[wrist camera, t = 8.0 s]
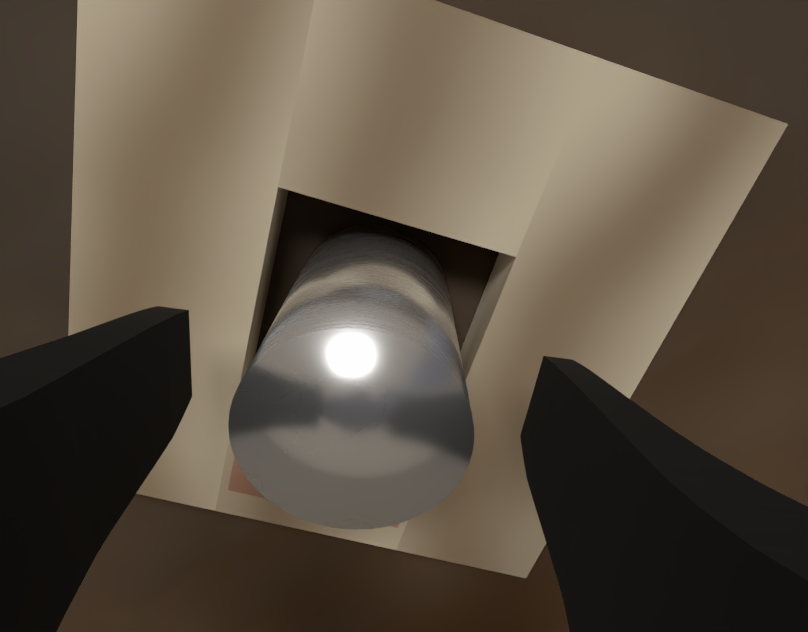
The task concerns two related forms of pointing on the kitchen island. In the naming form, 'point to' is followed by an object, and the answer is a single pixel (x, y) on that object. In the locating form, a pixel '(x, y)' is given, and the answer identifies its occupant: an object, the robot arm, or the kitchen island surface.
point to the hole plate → (392, 209)
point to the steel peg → (357, 387)
